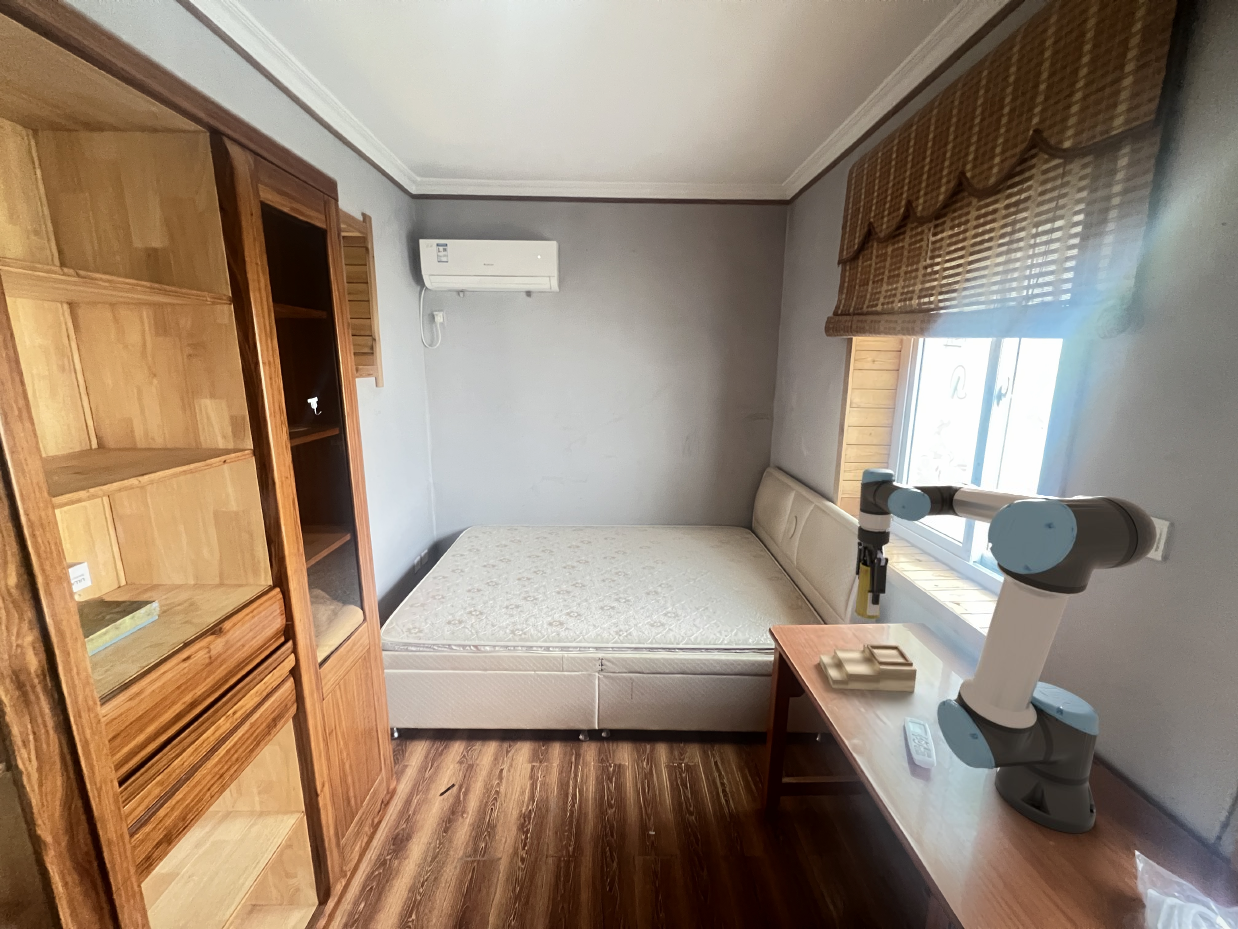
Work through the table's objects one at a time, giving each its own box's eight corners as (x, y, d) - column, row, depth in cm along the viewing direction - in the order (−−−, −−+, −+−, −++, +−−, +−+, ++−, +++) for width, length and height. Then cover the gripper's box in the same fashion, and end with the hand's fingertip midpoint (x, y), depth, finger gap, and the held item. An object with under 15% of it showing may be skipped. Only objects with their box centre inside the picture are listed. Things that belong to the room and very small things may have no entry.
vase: (874, 621, 131) (878, 570, 128) (851, 614, 135) (854, 564, 133) (883, 614, 135) (887, 564, 132) (860, 606, 139) (863, 558, 137)
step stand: (914, 691, 132) (916, 666, 131) (832, 688, 134) (834, 663, 133) (894, 665, 144) (896, 642, 142) (819, 662, 146) (820, 639, 144)
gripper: (906, 538, 121) (898, 626, 125) (873, 517, 140) (867, 594, 144) (874, 538, 122) (867, 625, 126) (846, 516, 140) (840, 593, 144)
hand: (867, 608), depth 135 cm, fingers closed on vase, 6 cm apart
